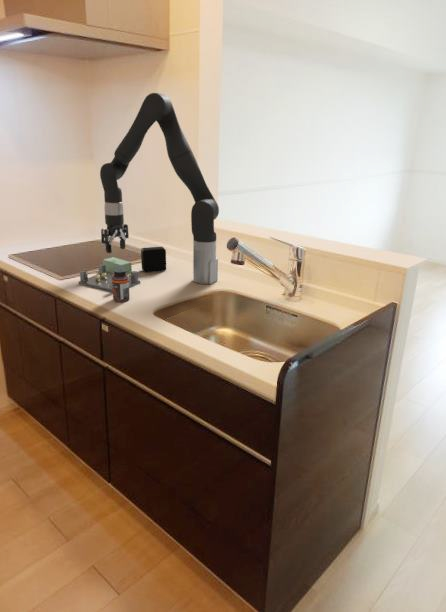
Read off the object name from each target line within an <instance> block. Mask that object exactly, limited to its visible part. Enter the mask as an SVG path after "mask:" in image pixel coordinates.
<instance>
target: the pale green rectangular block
mask: <svg viewBox="0 0 446 612" xmlns="http://www.w3.org/2000/svg"><path fill="white" fill-rule="evenodd" d="M102 262H103V265H105V266H106V272H108V273H111V274H114V270H116V269H125V271H126V275H127V276H128V275H131V272H132V271H133V270H132V262H131V261H127V260H124V259H121V258H117V257H113V256H112V257H109V258H104V259H103V260H102Z"/></svg>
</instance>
